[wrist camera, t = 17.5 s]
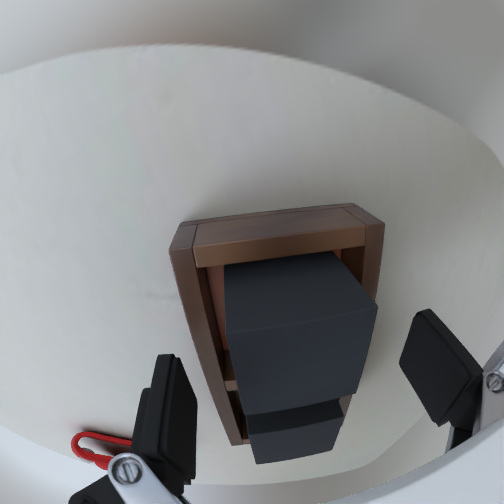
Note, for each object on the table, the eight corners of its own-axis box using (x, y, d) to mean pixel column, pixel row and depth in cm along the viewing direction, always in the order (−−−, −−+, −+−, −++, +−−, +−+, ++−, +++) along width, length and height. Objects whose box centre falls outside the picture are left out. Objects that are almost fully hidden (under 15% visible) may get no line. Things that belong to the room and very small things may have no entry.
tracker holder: (142, 475, 24) (68, 462, 18) (140, 446, 27) (68, 431, 21) (185, 480, 18) (81, 469, 13) (182, 440, 21) (82, 423, 16)
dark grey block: (328, 245, 13) (378, 306, 8) (324, 326, 15) (356, 393, 10) (223, 259, 12) (225, 333, 8) (236, 340, 15) (244, 415, 10)
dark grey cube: (319, 352, 16) (344, 416, 12) (314, 395, 18) (332, 450, 14) (240, 365, 16) (247, 435, 11) (248, 407, 18) (256, 464, 13)
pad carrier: (353, 202, 13) (385, 223, 10) (331, 396, 19) (342, 426, 17) (179, 222, 12) (168, 250, 10) (229, 413, 19) (231, 446, 16)
